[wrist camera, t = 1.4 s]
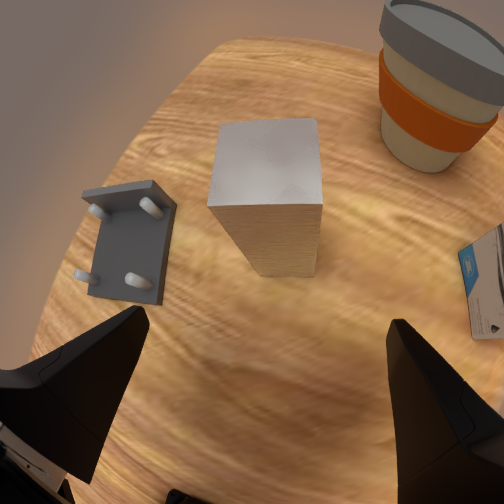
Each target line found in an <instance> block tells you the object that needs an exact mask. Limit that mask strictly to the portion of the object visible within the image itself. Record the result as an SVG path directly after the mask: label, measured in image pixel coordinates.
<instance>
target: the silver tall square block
mask: <svg viewBox="0 0 504 504" xmlns="http://www.w3.org/2000/svg"><path fill="white" fill-rule="evenodd" d="M322 206H323V199H322V180H321V166H320V153H319V141H318V131H317V121H316V118H293V119H270V120H255V121H243V122H233V123H224V124H221V125H220V131H219V136H218V142H217V147H216V153H215V159H214V165H213V171H212V177H211V183H210V190H209V196H208V203H207V207H208V208H209V210H210V211H211V212H212V213H213V215H214V216H215V217H216V219H217V220H218V221H219V223H220V224H221V225H222V227H223V228H224V229H225V231H226V232H227V233H228V235H229V236H230V237H231V239H232V240H233V241H234V242H235V244H236V245H237V246H238V248H239V249H240V250H241V252H242V253H243V254H244V256H245V257H246V258H247V260H248V261H249V262H250V263H251V265H252V266H253V267H254V269H255V270H256V271H257V273H258V274H259V275H260V276H274V277H314V271H315V264H316V257H317V249H318V241H319V233H320V225H321V216H322Z"/></svg>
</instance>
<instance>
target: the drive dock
mask: <svg viewBox="0 0 504 504" xmlns="http://www.w3.org/2000/svg"><path fill="white" fill-rule="evenodd" d="M81 198H82V199H84V200H85V201H87V202H88V203H89V204H91V205H90V207H89V212H90V213H91V214H93V215H94V216H96V217H98V218H99V219H101V220H102V221H101V225H100V229H99V234H98V238H97V243H96V247H95V252H94V257H93V263H92V268H91V273H88V272H85V271H82V270H80V269H76V270H75V272H74V278H75V279H77V280H80V281H83V282H86V283H89V287H88V294H87V295H90V296H94V297H100V298H107V299H114V300H121V301H129V302H137V303H145V304H154V305H162V299H163V291H164V282H165V275H166V267H167V260H168V253H169V247H170V240H171V234H172V228H173V223H174V217H175V211H176V206H177V204H176V203H175V202H174V201H173V200H172V199H171V198H170V197H169V196H168V195H167V194H166V193H165V192H164V191H163V190H162V189H161V187H160V186H159V185H158V184H157V183H156V182H155V181H154V180H146V181H139V182H132V183H125V184H119V185H113V186H107V187H102V188H96V189H91V190H86V191H83V194H82V197H81Z"/></svg>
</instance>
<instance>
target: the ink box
mask: <svg viewBox="0 0 504 504" xmlns="http://www.w3.org/2000/svg"><path fill="white" fill-rule="evenodd" d="M459 258H460V263H461V267H462V272H463V277H464V282H465V287H466V293H467V299H468V306H469V313H470V322H471V331H472V339H473V340H481V339H504V222H503V223H501V224H500V225H498V226H497V227H496V228H494V229H493V230H491V231H490V232H488V233H487V234H485V235H484V236H483V237H481V238H480V239H478V240H477V241H475V242H474V243H472V244H471V245H469V246H468V247H466V248H465V249H463V250H461V251H460V252H459Z"/></svg>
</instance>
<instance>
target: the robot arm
mask: <svg viewBox="0 0 504 504" xmlns="http://www.w3.org/2000/svg"><path fill="white" fill-rule="evenodd" d="M149 326H150V324H149V320H148V317H147V315H146V312H145V310H144V308H143V307H142V306H136V305H133V306H131V307H129V308H127V309H126V310H124V311H122V312H120V313H119V314H117V315H115V316H113V317H111V318H110V319H108V320H106V321H104V322H103V323H101V324H99V325H97V326H96V327H94V328H92V329H90V330H89V331H87V332H85V333H83V334H81V335H80V336H78V337H76V338H74V339H73V340H71V341H69V342H68V343H66V344H64V345H62V346H60V347H59V348H57V349H55V350H53V351H52V352H50V353H48V354H46V355H44V356H42V357H40V358H38V359H36V360H34V361H32V362H30V363H28V364H26V365H24V366H21V367H20V368H17V369H14V370H1V369H0V504H75V501H74V498H73V495H72V492H71V489H70V485H69V482H68V480H67V479H65V476H66V474H67V472H68V473H69V474H71V475H73V476H75V477H76V478H78V479H80V480H82V481H83V482H85V483H87V484H90V483H91V480H92V477H93V474H94V471H95V468H96V465H97V462H98V460H99V457H100V454H101V451H102V448H103V446H104V443H105V440H106V437H107V435H108V432H109V430H110V427H111V424H112V422H113V419H114V417H115V414H116V412H117V409H118V407H119V404H120V402H121V400H122V397H123V395H124V392H125V390H126V388H127V385H128V383H129V381H130V378H131V376H132V374H133V371H134V369H135V367H136V365H137V362H138V360H139V357H140V354H141V351H142V348H143V345H144V342H145V339H146V336H147V333H148V330H149ZM386 348H387V363H388V381H389V388H390V395H391V402H392V410H393V419H394V428H395V439H396V452H397V473H398V504H504V419H503V418H502V417H501V416H500V415H499V414H498V413H497V412H496V411H495V410H494V409H493V408H491V407H490V406H489V405H488V404H487V403H486V402H485V401H484V400H483V399H482V398H481V397H480V396H479V395H478V394H477V393H476V392H475V391H474V390H473V389H472V388H471V387H470V386H469V384H468V383H467V382H466V381H464V379H463V378H462V377H461V376H460V375H459V374H458V373H457V372H456V371H455V370H454V369H453V367H452V366H451V365H450V364H449V363H448V362H447V361H446V360H445V359H444V358H443V357H442V356H441V355H440V354H439V353H438V352H437V351H436V350H435V349H434V348H433V347H432V346H431V345H430V344H429V343H428V342H427V341H426V340H425V339H424V338H423V337H422V336H421V335H420V334H419V333H418V332H417V331H416V330H415V329H414V328H413V327H412V326H411V325H410V324H409V323H408V322H407V321H406V320H404V319H393V320H392V321H391V324H390V327H389V331H388V334H387V337H386ZM173 493H174V494H173ZM165 504H206V503H203V502H201V501H199V500H196V499H194V498H192V497H190V496H187V495H185V494H183V493H181V492H179V491H177V490H174V489H172V490H170V491H169V493H168V496H167V499H166V502H165Z"/></svg>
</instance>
